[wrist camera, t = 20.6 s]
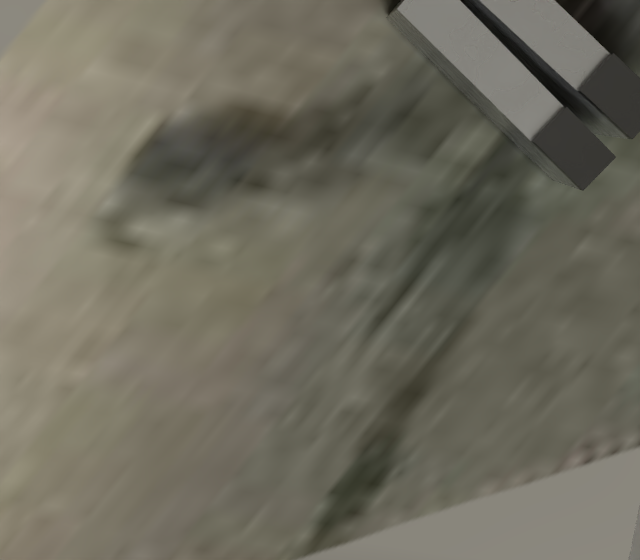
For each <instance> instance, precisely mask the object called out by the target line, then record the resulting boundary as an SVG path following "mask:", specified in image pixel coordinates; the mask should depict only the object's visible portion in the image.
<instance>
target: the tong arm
mask: <svg viewBox="0 0 640 560" xmlns="http://www.w3.org/2000/svg"><path fill="white" fill-rule="evenodd" d="M386 18H387V19H388V20H389V21H390V22H391V23H392V24H393V25H394V26H395V27H396V28H397V29H398V30H399V31H400V32H401V33H402V34H403V35H404V36H405V37H406V38H407V39H408V40H410V41H411V42H412V43H413V44H414V45H415V46H416V47H417V48H418V49H419V50H420V51H421V52H422V53H423V54H424V55H425V56H426V57H427V58H428V59H429V60H430V61H431V62H432V63H433V64H434V65H435V66H436V67H437V68H438V69H439V70H440V71H441V72H442V73H443V74H444V75H445V76H446V77H447V78H448V79H449V80H450V81H451V82H452V83H453V84H455V85H456V86H457V87H458V88H459V89H460V90H461V91H462V92H463V93H464V94H465V95H466V96H467V97H468V98H469V99H470V100H471V101H472V102H473V103H474V104H475V105H476V106H477V107H478V108H479V109H480V110H481V111H482V112H483V113H484V114H485V115H486V116H487V117H488V118H489V119H490V120H491V121H492V122H493V123H494V124H495V125H496V126H497V127H498V128H500V129H501V130H502V131H503V132H504V133H505V134H506V135H507V136H508V137H509V138H510V139H511V140H512V141H513V142H514V143H515V144H516V145H517V146H518V147H519V148H520V149H521V150H522V151H523V152H524V153H525V154H526V155H527V156H528V157H529V158H530V159H531V160H532V161H533V162H534V163H535V164H536V165H537V166H538V167H539V168H540V169H541V170H542V171H543V172H544V173H546V174H547V175H548V176H549V177H550V178H551V179H552V180H553V181H556V182H559V183H562V184H565V185H568V186H571V187H574V188H577V189H580V190H584V189H585V188H586V187H587V186H588V185H589V184H590V183H591V182H592V181H593V180H594V179H595V178H596V177H597V176H598V175H599V174H600V173H601V172H602V171H603V170H604V169H605V168H606V167H607V166H608V165H609V164H610V163H611V162H612V161H613V160H614V159H615V158H616V157H615V155H614V154H613V153H612V152H611V151H610V150H609V149H608V148H607V147H606V146H605V145H604V144H603V143H602V142H601V141H600V140H599V139H598V138H597V137H596V136H595V135H594V134H593V133H592V132H591V131H590V130H589V129H588V128H587V127H586V126H585V125H584V124H583V123H582V122H581V121H580V120H579V119H578V118H577V116H576V115H575V114H574V113H573V112H572V111H571V110H570V109H569V108H568V107H564V106H563V105H562V104H561V103H560V102H559V101H558V100H557V99H556V98H555V97H554V96H553V95H552V94H551V93H550V92H549V91H548V90H547V89H546V88H545V87H544V86H543V85H542V84H541V83H540V82H539V81H538V80H537V79H536V78H535V77H534V76H533V75H532V74H531V73H530V71H529V70H528V69H527V68H526V67H525V66H524V65H523V64H522V63H521V62H520V61H519V60H518V59H517V58H516V57H515V56H514V55H513V54H512V53H511V52H510V51H509V50H508V49H507V48H506V47H505V46H504V45H503V44H502V43H501V42H500V41H499V40H498V39H497V38H496V37H495V36H494V35H493V34H492V33H491V32H490V31H489V29H488V28H487V27H486V26H485V25H484V24H483V23H482V22H481V21H480V20H479V19H478V18H477V17H476V16H475V15H474V14H473V13H472V12H471V11H470V10H469V9H468V8H467V7H466V6H465V5H464V4H463V3H462V2H461V1H460V0H401V1H400V2H399V3H398V4H397V5H396V7H395V8H394V9H393V10H392V11H391V13H390V14H389V15H388V16H387V17H386Z"/></svg>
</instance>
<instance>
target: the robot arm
mask: <svg viewBox="0 0 640 560" xmlns="http://www.w3.org/2000/svg"><path fill="white" fill-rule="evenodd" d="M629 560H640V506H639V512H638V516H637V521H636V526H635V531H634V536H633V541H632V546H631V551H630V556H629Z"/></svg>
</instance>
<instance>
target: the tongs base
mask: <svg viewBox="0 0 640 560" xmlns="http://www.w3.org/2000/svg"><path fill="white" fill-rule="evenodd" d="M460 1H461V2H462V3H463V4H464V5H465V6H466V7H467V8H468V9H469V10H470V11H471V12H472V13H473V14H474V15H475V16H476V17H477V18H478V19H479V20H480V21H481V22H482V23H483V24H484V25H485V26H486V27H487V28H488V29H489V31H490V32H491V33H492V34H493V35H494V36H495V37H496V38H497V39H498V40H499V41H500V42H501V43H502V44H503V45H504V46H505V47H506V48H507V49H508V50H509V51H510V52H511V53H512V54H513V55H514V56H515V57H516V58H517V59H518V60H519V61H520V62H521V63H522V64H523V65H524V66H525V67H526V68H527V69H528V70H529V71H530V73H531V74H532V75H533V76H534V77H535V78H536V79H537V80H538V81H539V82H540V83H541V84H542V85H543V86H544V87H545V88H546V89H547V90H548V91H549V92H550V93H551V94H552V95H553V96H554V97H555V98H556V99H557V100H558V101H559V102H560V103H561V104H562V105H563V106H564V107H568V108H569V109H570V110H571V111H572V112H573V113H574V114H575V115H576V116H577V118H578V119H579V120H580V121H581V122H582V123H583V124H584V125H585V126H586V127H587V128H588V129H589V130H590V131H591V132H592V133H593V134H597V135H604V136H612V137H620V138H627V139H633V138H634V137H635V136H636V135H637V134H638V133H639V131H640V78H639V77H638V76H637V75H636V74H635V73H634V72H633V71H632V70H631V69H630V68H629V67H628V66H627V65H626V64H625V63H624V62H623V61H622V60H621V59H620V58H618V57H617V56H616V55H615V54H614V53H609V52H608V51H607V50H606V49H605V48H604V47H603V46H602V45H601V44H600V43H598V42H597V41H596V40H595V39H594V38H593V37H592V36H591V35H590V34H589V33H588V32H587V31H586V30H585V29H584V28H583V27H582V26H581V25H580V24H579V23H578V22H577V21H576V20H575V19H574V18H572V17H571V16H570V15H569V14H568V13H567V12H566V11H565V10H564V9H563V8H562V7H561V6H560V5H559V4H558V3H557V2H556V1H555V0H460Z"/></svg>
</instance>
